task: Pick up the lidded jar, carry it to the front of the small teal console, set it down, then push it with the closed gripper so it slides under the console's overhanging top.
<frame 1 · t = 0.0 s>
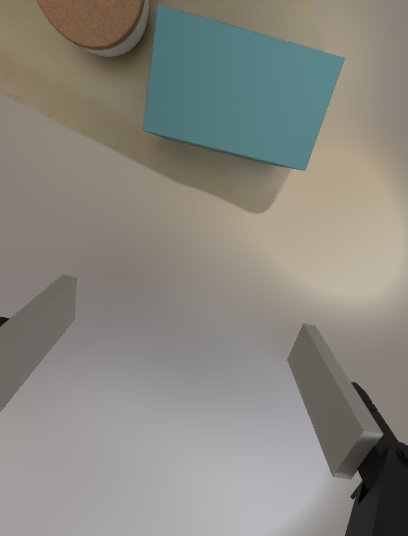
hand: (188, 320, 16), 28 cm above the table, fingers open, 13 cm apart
lidded jar: (113, 15, 32), on the table
console: (227, 116, 36), on the table
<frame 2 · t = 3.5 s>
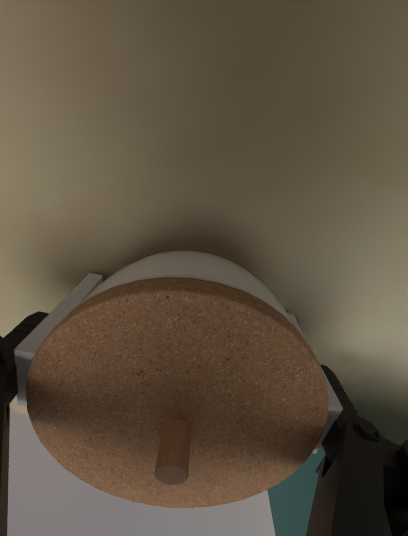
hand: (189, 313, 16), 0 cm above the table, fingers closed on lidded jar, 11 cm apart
lidded jar: (190, 307, 17), on the table, touching gripper
console: (375, 429, 21), on the table
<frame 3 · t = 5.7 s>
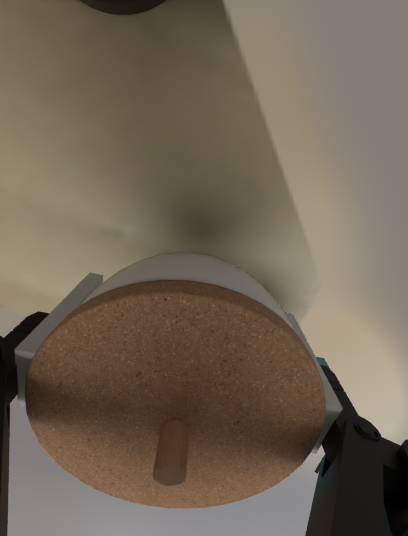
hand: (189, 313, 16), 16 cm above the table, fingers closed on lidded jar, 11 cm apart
lidded jar: (189, 308, 17), point 15 cm above the table, touching gripper
when the fingers open (1 cm above the table, at t = 8.2 s): lidded jar stays where it is, on the table.
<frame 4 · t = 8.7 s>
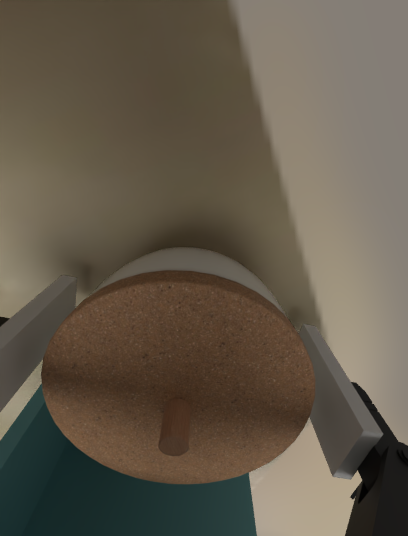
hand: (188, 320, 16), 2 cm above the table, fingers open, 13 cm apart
lidded jar: (190, 301, 18), on the table
console: (165, 410, 22), on the table
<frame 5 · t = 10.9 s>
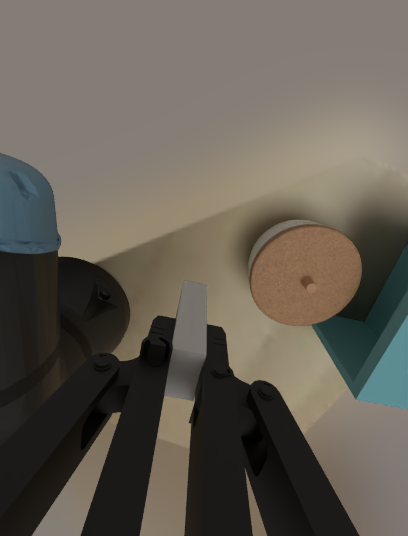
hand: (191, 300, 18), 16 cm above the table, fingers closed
lidded jar: (284, 252, 33), on the table
console: (361, 270, 34), on the table
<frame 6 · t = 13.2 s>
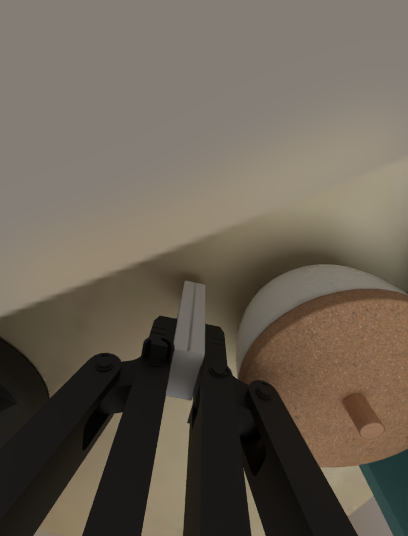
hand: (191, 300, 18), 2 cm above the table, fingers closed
lidded jar: (298, 308, 20), on the table, touching gripper
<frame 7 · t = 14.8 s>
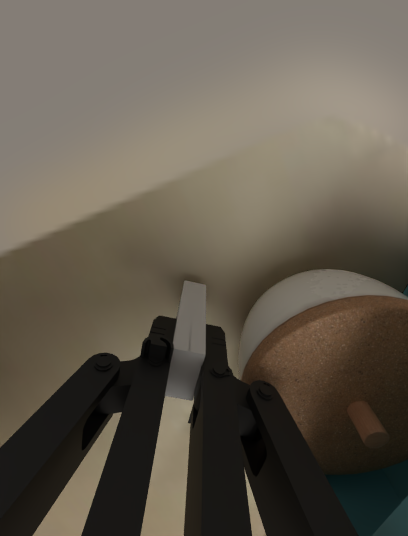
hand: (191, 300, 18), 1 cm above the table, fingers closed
lidded jar: (301, 313, 20), on the table, touching gripper
console: (335, 319, 20), on the table
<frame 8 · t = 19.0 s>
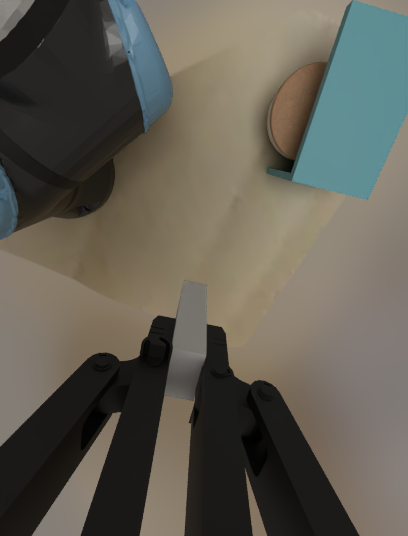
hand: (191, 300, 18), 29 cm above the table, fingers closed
lidded jar: (296, 122, 40), on the table
console: (312, 125, 40), on the table
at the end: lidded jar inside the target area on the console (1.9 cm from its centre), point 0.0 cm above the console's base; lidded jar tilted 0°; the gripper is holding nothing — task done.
